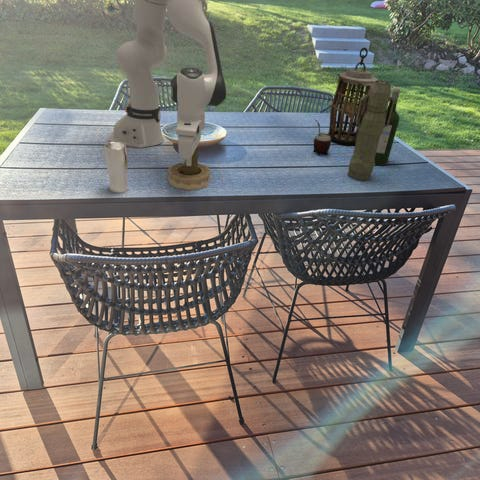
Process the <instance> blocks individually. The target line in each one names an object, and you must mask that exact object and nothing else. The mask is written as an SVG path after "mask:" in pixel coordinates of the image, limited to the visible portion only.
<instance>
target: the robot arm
mask: <svg viewBox="0 0 480 480" xmlns="http://www.w3.org/2000/svg"><path fill="white" fill-rule="evenodd" d="M202 2H203V1H202V0H134V5H133V12H132V20H133V22H134V23H135V25H136V31H137V33H136V38H135V39H133V40H128V41H126V42H125V43H123V44H121V45H120V46H119V47H118V49H117V50H116V53H115V59H116V62H117V63H116V64H117V65H118V67H119V68H120V70H122V71H123V72H124V74H125V77H126V80H127V82H128V88H129V97H130V98H129V99H130V102H129V104H128V105H127V106H126V108H125V110H124V112H125V113H126V114H125V115H124V116H123V117H121V118H120V119H119V120H117V121H116V123H115V124H114V126H113V132H111V133H110V134H109V135H108V137H107V142H108V143H109V142H122V143H125V144H126V147H127V146H128V147H132V148H139V149H143V148H146V147H151V146H157V145H160V144H162V143H163V142H164V141H165V139H164V136H163V133H162V128H161V127H162V126H161V105H160V99H159V97H160V96H159V95H160V93H159V92H160V90H159V86H158V84H157V83H156V82H155V80H154V77H153V73H152V69H154V68H157V67H159V66H161V65H162V64H163V63H164V61H166V59H167V56H168V48H167V45H166V44H165V36H164V35H165V34H164V27H165V19H166V14H167V17H168V18H167V19H168V21H169V23H170V24H171V26H172V27H173V28H174V29H175V30H176V31H177V32H179V33H180V34H182V35H184V36H187V37H188V38H191V39H192V40H194V41H197V42H198V43H199V44H200V45H201V46H202V48H203V50H204V52H205V58H206V64H207V69H208V73H207V74H204V71H202V70H201V69H199V68H196V67H191V66H189V67H183V68H182V69H180V70H179V72H178V74H176V75H174V76H173V77H172V78H171V80H170V90H171V91H170V99H171V100H172V101H173V103H175V104H176V105H178V107H177V111H176V112H177V114H176V117H177V119H176V121H177V122H176V128H175V135H178V136H177V145H178V156H179V158H180V159H181V160H185V159H186V166H191V165H192V156H193V154H194V152H195V150H196V149H197V147H198V145H199V143H200V141H201V140H202V139H201V138H202V131H203V130H204V129H205V125H206V124H205V122H206V121H205V120H206V116H205V115H206V114H205V113H206V112H205V106H208V107H209V106H210V107H219V106H220V105H221V104H223V102H224V101H225V100H226V99H227V93H228V92H227V84H226V82H225V79H224V77H225V76H224V74H223V69H222V65H221V64H222V63H221V58H220V52H219V48H218V40H217V36H216V33H215V28H214V26H213V23H212V22H211V21H210V20H208V19H207V17H206V15H205V13H204V10H203V3H202Z"/></svg>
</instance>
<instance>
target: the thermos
mask: <svg viewBox="0 0 480 480" xmlns="http://www.w3.org/2000/svg"><path fill="white" fill-rule="evenodd" d="M391 85H392V84H391V83H390V82H388V81H384V80H378V81H375V82H373V83H372V85H371V86H370V88H369V90H368V94H367V95H364V94H363V97H362V98H361V99H360V104H359V108H358V113H357V117H356V124H358V125H359V126H358V136H357V140H356V145H355V146H354V150H353V154H352V155H351V157H350V160H349V165H348V172H347V176H348V177H349V178H350V179H352V180H355V181H359V182H367V180H368V181H370V180H369V179H371V177H372V176H371V175H372V173H373V172H374V171H373V170H374V167H375V165H374V164H375V159H374V158H375V154H376V150H377V147H378V143H379V139H380V136H381V135H382V133H383V129H384V128H385V127H388V124H389V121H390V117H391V114H392V110H393V106H394V103H395V101H394V99H393V97H391V95H392V86H391ZM366 98H367V99H366ZM365 99H366V106H365V108H364V111H363V113H362V109H363V105H364V101H365ZM389 102H390V105H389ZM388 105H389V109H388V113H387V117H386V110H387V108H388ZM361 113H362V115H361Z"/></svg>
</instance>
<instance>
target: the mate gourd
mask: <svg viewBox="0 0 480 480" xmlns="http://www.w3.org/2000/svg"><path fill="white" fill-rule="evenodd" d="M314 120H315V122H316V123H317V127H318V133H317V134H316V135H315V136H314V139H313V151H312V152H313V153H317V156H318V157H319V156H321V155H324V156H328V152H329V150H330V148H331V144H332V142H331V138H330V135H328V133H324V132H321V125H320V123H319V121H318V120H317V119H314Z"/></svg>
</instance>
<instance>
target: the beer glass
mask: <svg viewBox="0 0 480 480" xmlns="http://www.w3.org/2000/svg"><path fill="white" fill-rule="evenodd" d="M128 155H129V154H128V150H127V145H126V144H125V143H122V142H109V141H108V142H107V143H105V144H104V161H105V166H106V171H107V173H108V177H109V185H108V186H109V187H108V188H109V191H110V192H112V193H113V194H115V193H116V194H122V193H126V192H127V191H128V190H129V184H128V180H127V179H128V178H127V177H128V176H127V174H128V173H127V172H128V166H129V165H128V164H129V158H128Z"/></svg>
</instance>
